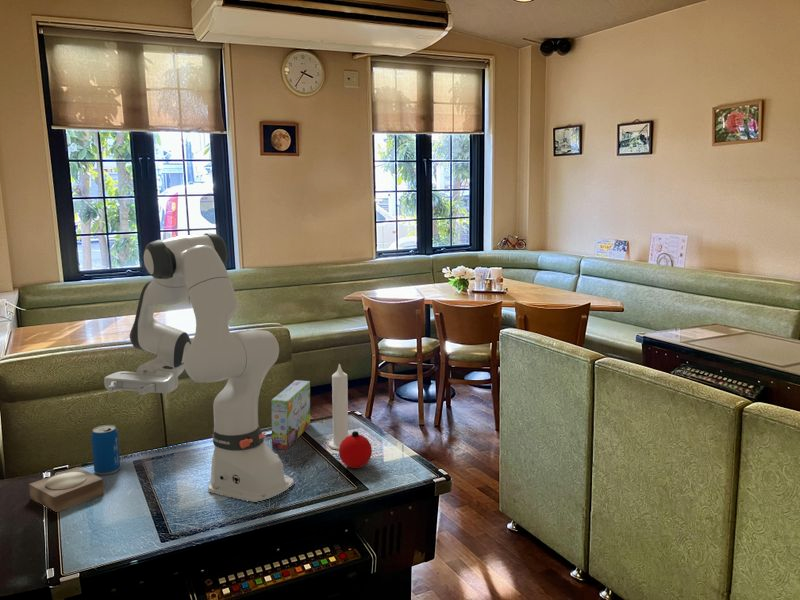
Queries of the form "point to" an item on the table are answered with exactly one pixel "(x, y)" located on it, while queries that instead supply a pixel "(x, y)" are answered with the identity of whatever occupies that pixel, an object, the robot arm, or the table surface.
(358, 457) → the ornament
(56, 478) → the base block
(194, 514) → the table surface
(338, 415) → the candle
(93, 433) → the beverage can
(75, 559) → the table surface
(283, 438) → the snack box
